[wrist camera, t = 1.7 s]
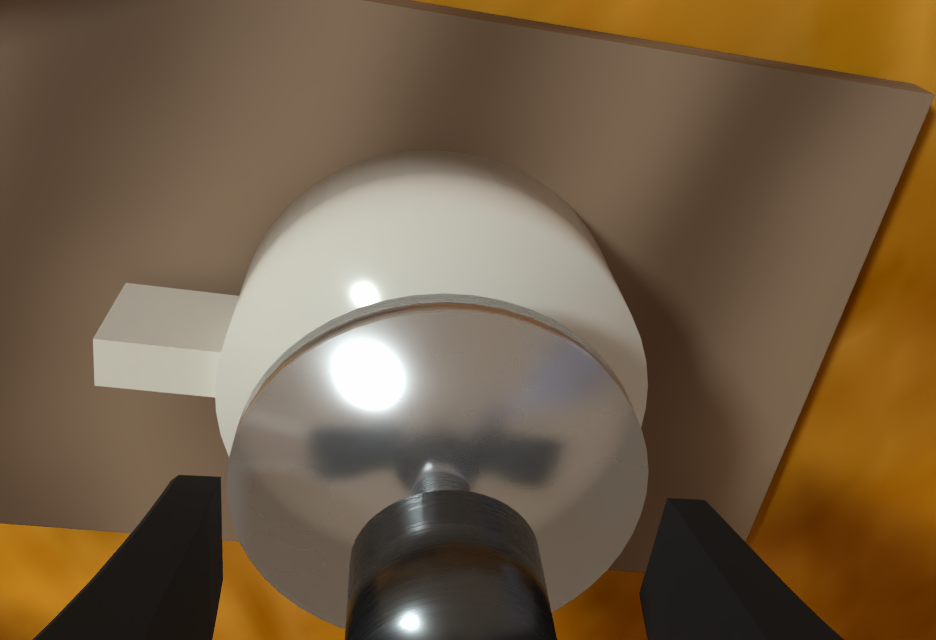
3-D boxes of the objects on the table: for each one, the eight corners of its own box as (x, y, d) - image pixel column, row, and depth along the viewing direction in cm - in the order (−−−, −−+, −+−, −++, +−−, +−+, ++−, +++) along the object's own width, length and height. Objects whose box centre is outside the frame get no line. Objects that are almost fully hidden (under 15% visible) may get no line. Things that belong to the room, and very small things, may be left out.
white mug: (656, 180, 18) (701, 241, 15) (567, 489, 22) (591, 581, 19) (129, 104, 16) (77, 158, 14) (132, 450, 20) (94, 544, 18)
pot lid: (688, 321, 14) (798, 506, 10) (587, 628, 17) (641, 855, 13) (242, 267, 13) (179, 451, 9) (224, 603, 16) (171, 841, 12)
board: (913, 84, 18) (934, 94, 17) (720, 557, 24) (729, 578, 24) (-153, -94, 15) (-179, -89, 14) (-65, 494, 21) (-81, 517, 21)
